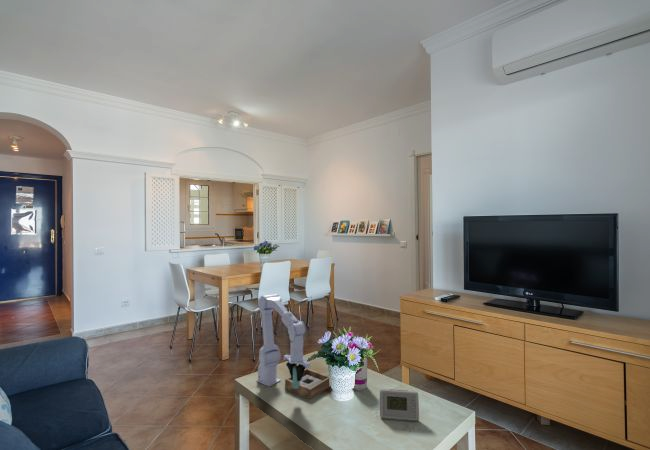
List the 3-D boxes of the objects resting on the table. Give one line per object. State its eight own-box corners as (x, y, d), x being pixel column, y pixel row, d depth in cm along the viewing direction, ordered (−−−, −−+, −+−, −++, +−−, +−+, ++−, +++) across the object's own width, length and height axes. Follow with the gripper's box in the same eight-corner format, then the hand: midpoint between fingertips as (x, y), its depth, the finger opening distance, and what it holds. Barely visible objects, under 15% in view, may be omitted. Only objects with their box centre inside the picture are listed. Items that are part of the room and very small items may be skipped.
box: (285, 388, 164) (285, 379, 164) (306, 376, 177) (306, 368, 177) (309, 399, 154) (310, 389, 154) (330, 386, 167) (331, 377, 167)
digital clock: (378, 419, 140) (378, 393, 139) (381, 407, 148) (381, 383, 148) (418, 426, 134) (419, 400, 134) (419, 414, 143) (420, 389, 143)
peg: (291, 387, 152) (291, 367, 152) (295, 384, 155) (296, 365, 155) (296, 389, 150) (296, 369, 150) (301, 386, 153) (301, 367, 153)
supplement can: (361, 392, 161) (361, 361, 160) (346, 387, 166) (347, 357, 165) (369, 386, 167) (370, 356, 167) (355, 381, 172) (356, 352, 172)
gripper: (279, 348, 154) (278, 377, 154) (302, 356, 145) (302, 387, 145) (289, 343, 159) (289, 372, 159) (313, 351, 150) (312, 381, 151)
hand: (296, 379), depth 153 cm, fingers closed on peg, 3 cm apart
